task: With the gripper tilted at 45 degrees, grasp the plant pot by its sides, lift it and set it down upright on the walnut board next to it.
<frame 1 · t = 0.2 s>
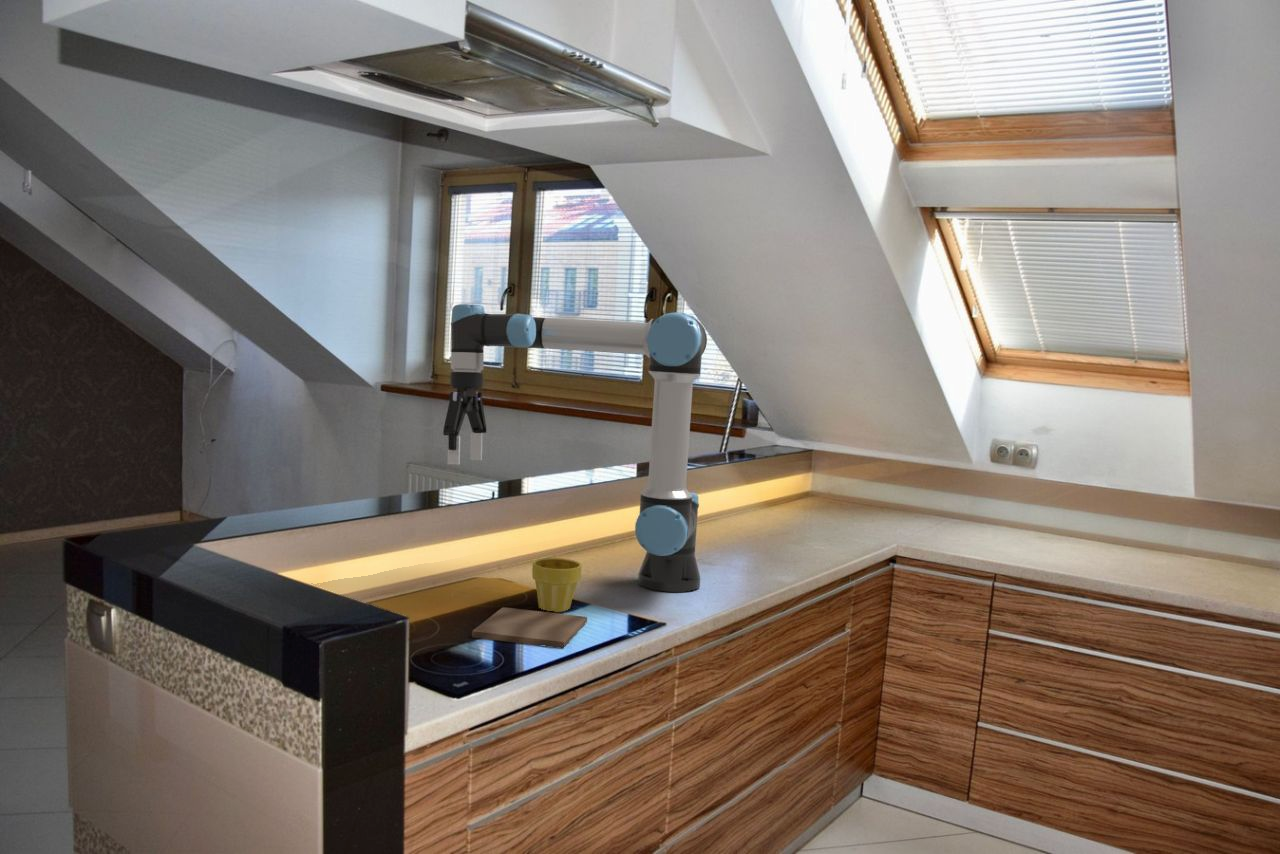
hand: (465, 462, 223), 27 cm above the counter, tool pointing down, fingers open, 13 cm apart
walnut board: (531, 629, 187), on the counter
plant pot: (554, 609, 204), on the counter
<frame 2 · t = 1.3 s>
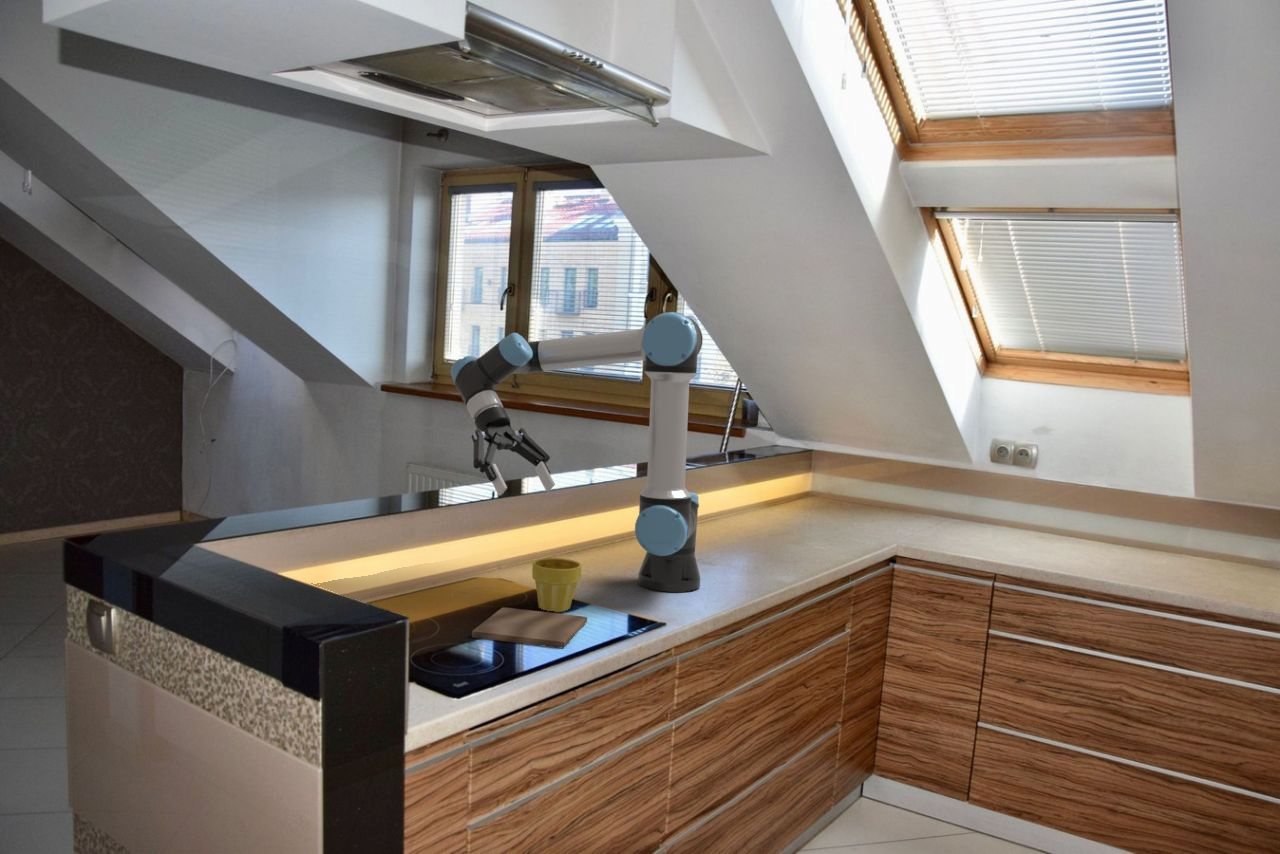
hand: (527, 490, 210), 24 cm above the counter, tool tilted 45°, fingers open, 13 cm apart
nothing on the counter moved.
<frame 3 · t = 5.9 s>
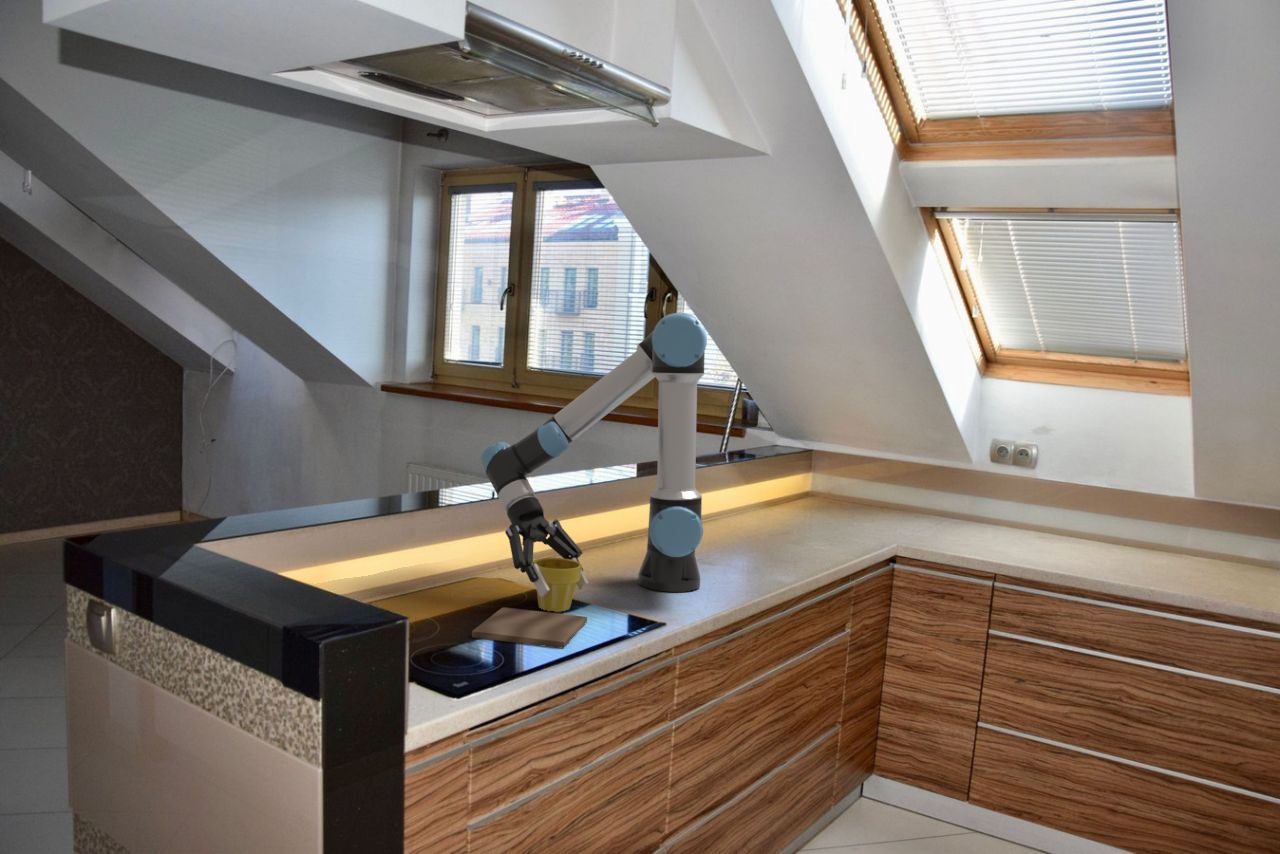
hand: (565, 589, 202), 5 cm above the counter, tool tilted 45°, fingers closed on plant pot, 10 cm apart
plant pot: (554, 608, 204), on the counter, touching gripper
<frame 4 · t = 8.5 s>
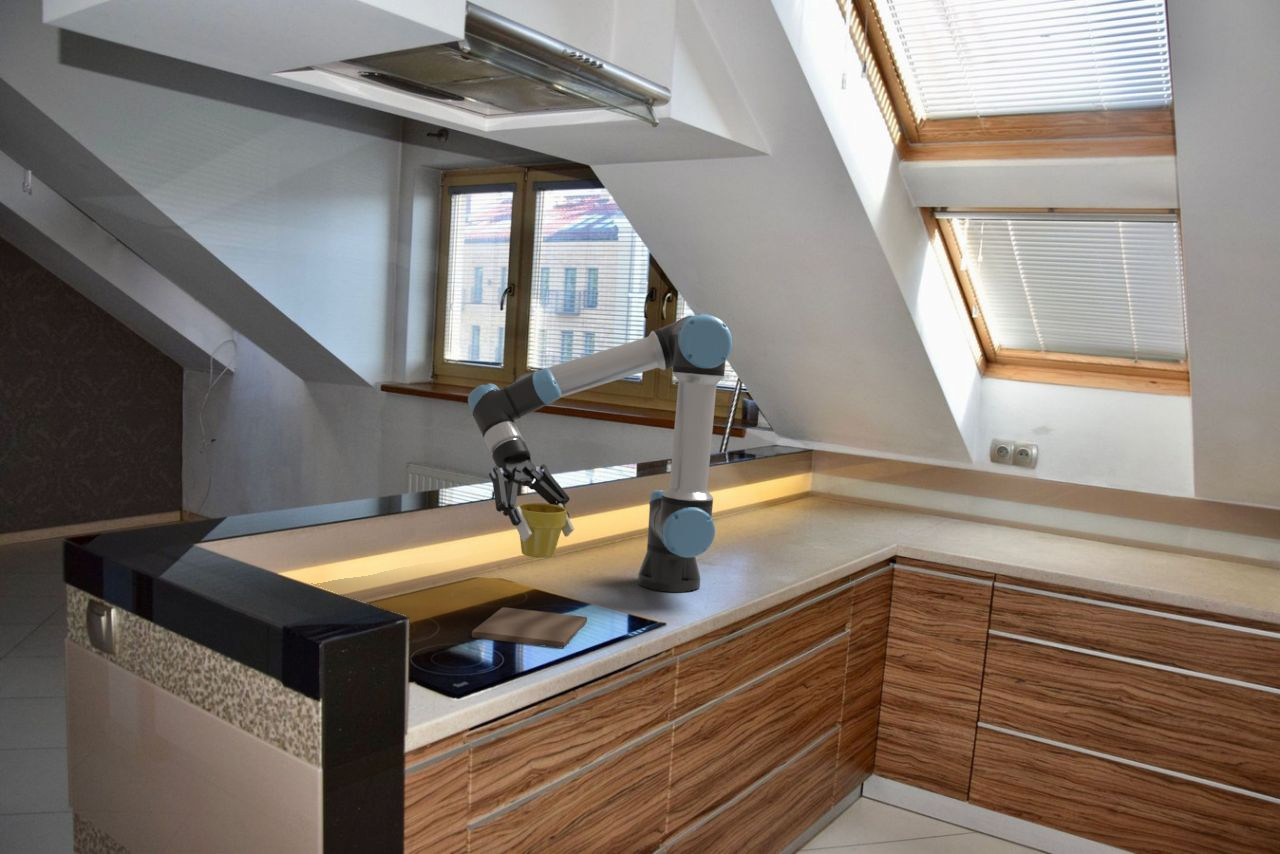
hand: (548, 535, 194), 17 cm above the counter, tool tilted 45°, fingers closed on plant pot, 10 cm apart
plant pot: (538, 555, 196), point 13 cm above the counter, touching gripper
when the fingers open (7 cm above the counter, at t = 11.5 s): plant pot drops 1 cm, resting on walnut board.
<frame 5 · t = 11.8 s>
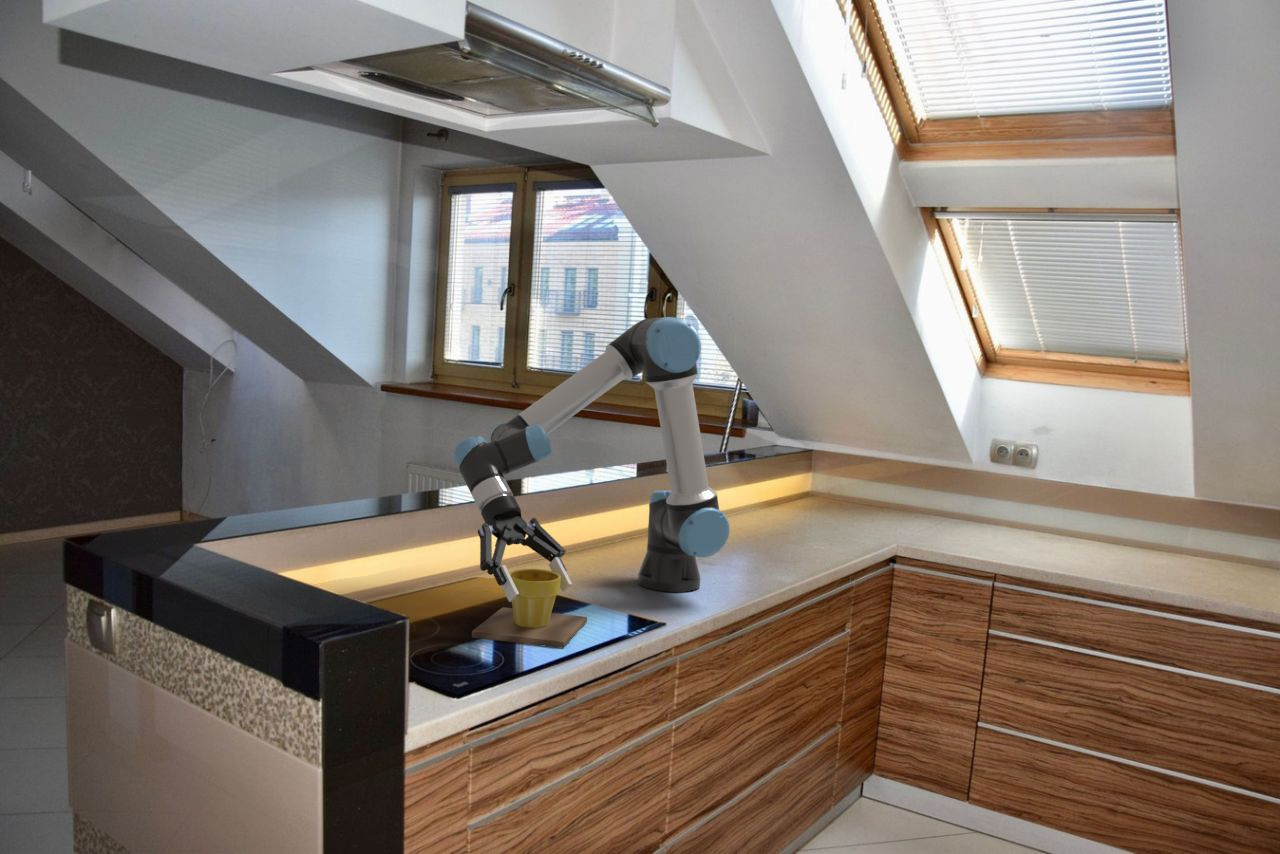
hand: (541, 592, 185), 8 cm above the counter, tool tilted 45°, fingers open, 13 cm apart
plant pot: (531, 624, 187), point 1 cm above the counter, touching walnut board
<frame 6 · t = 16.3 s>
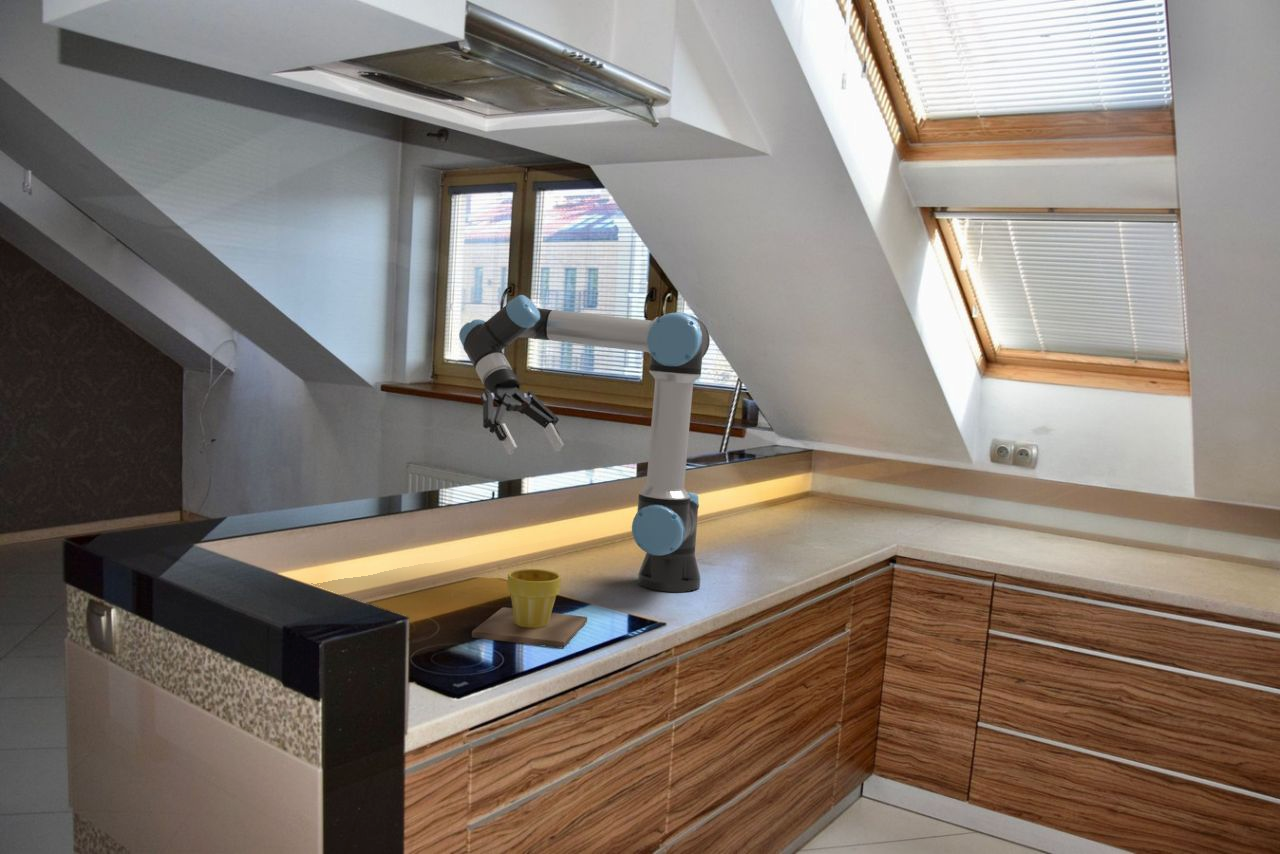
hand: (537, 450, 211), 33 cm above the counter, tool tilted 45°, fingers open, 13 cm apart
nothing on the counter moved.
at the end: plant pot inside the target area on the walnut board (0.1 cm from its centre), point 1.0 cm above the walnut board's base; plant pot tilted 0°; the gripper is holding nothing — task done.
